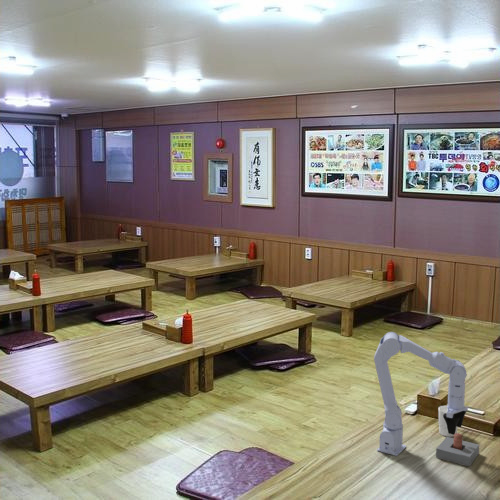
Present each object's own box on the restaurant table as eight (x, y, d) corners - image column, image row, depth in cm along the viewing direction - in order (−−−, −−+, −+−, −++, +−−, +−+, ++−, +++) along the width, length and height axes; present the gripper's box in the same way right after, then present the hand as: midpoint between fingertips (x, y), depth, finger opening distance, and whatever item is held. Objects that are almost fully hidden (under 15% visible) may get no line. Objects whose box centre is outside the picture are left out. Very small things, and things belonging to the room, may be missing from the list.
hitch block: (469, 466, 215) (469, 457, 214) (436, 457, 222) (436, 448, 221) (478, 453, 224) (479, 444, 224) (446, 445, 231) (446, 436, 231)
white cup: (461, 432, 242) (462, 409, 241) (453, 439, 236) (453, 415, 235) (443, 427, 248) (443, 404, 246) (434, 433, 242) (434, 409, 241)
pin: (460, 458, 221) (460, 437, 220) (451, 455, 223) (452, 435, 222) (462, 455, 223) (463, 434, 222) (454, 452, 225) (455, 432, 224)
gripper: (461, 403, 213) (459, 439, 215) (473, 391, 225) (471, 425, 227) (441, 398, 217) (440, 434, 219) (454, 387, 229) (452, 421, 231)
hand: (454, 430), depth 223 cm, fingers open, 7 cm apart
